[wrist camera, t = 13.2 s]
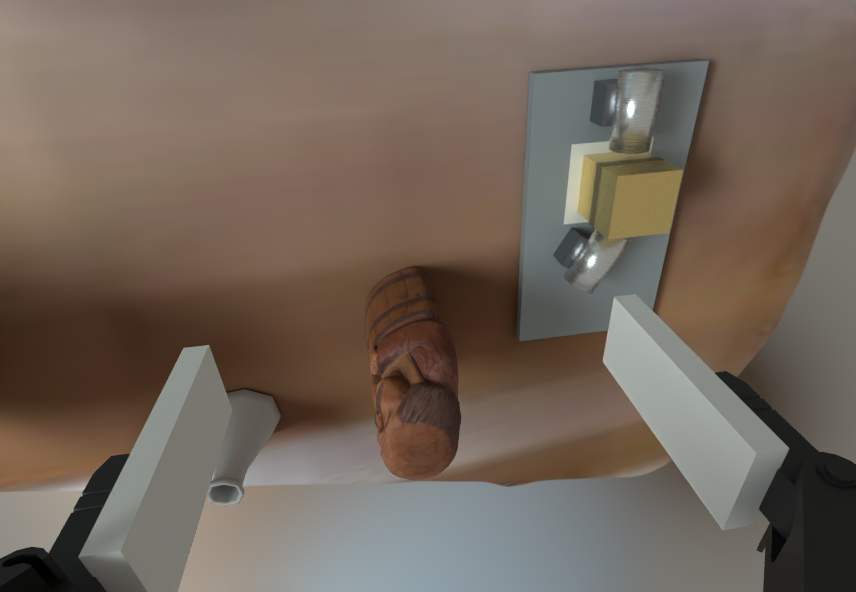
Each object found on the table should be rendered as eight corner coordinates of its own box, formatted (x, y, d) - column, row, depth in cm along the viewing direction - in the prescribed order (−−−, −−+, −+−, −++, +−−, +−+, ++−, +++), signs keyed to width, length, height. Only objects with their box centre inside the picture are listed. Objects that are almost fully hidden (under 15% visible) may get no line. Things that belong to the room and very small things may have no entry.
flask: (281, 388, 50) (266, 466, 41) (281, 438, 53) (267, 519, 45) (206, 386, 48) (175, 467, 40) (211, 437, 52) (184, 521, 43)
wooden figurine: (365, 262, 43) (371, 399, 28) (434, 261, 44) (477, 394, 29) (365, 364, 49) (370, 524, 34) (426, 362, 50) (458, 517, 35)
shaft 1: (638, 138, 40) (666, 150, 36) (587, 142, 39) (610, 156, 36) (650, 65, 37) (682, 70, 33) (595, 69, 36) (622, 75, 33)
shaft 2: (582, 210, 42) (603, 229, 39) (619, 229, 44) (643, 248, 40) (548, 261, 45) (565, 284, 41) (584, 278, 46) (604, 300, 42)
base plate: (529, 72, 37) (534, 73, 36) (699, 59, 38) (710, 60, 37) (515, 334, 50) (519, 342, 49) (643, 318, 51) (649, 325, 50)
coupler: (576, 212, 42) (607, 240, 37) (583, 154, 40) (617, 175, 34) (631, 206, 43) (669, 233, 38) (641, 148, 40) (684, 169, 35)
